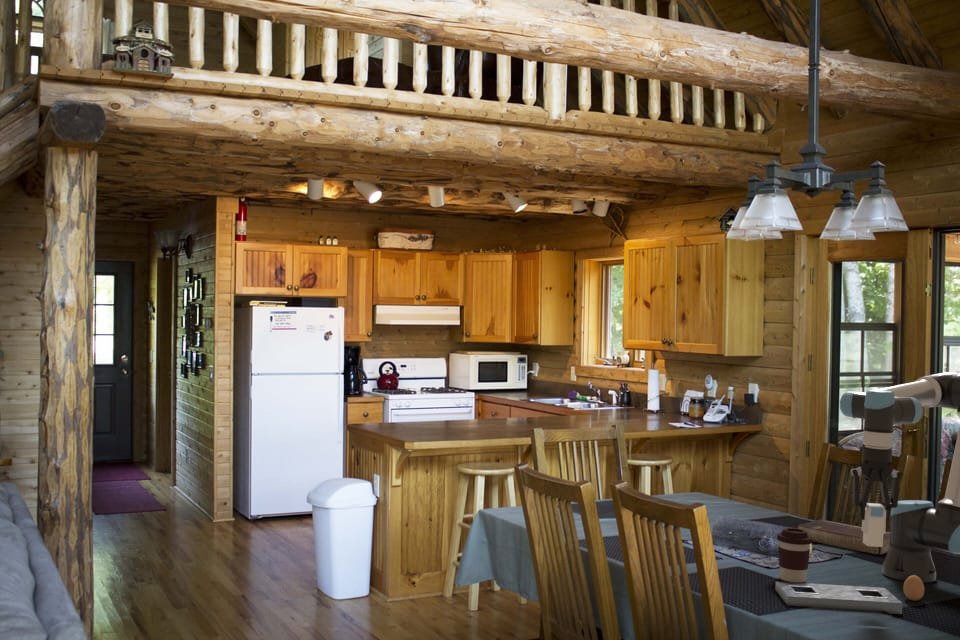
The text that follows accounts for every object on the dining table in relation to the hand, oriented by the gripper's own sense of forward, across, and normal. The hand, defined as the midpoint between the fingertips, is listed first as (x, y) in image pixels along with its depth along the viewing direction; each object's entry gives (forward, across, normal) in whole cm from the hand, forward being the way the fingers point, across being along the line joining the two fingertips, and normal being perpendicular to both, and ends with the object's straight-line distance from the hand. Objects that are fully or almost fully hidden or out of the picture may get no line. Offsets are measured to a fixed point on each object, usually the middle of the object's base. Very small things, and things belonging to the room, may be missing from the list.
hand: (873, 531), depth 267 cm
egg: (+20, -14, -7) cm, 26 cm away
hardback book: (+21, -17, -75) cm, 79 cm away
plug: (+4, 0, 0) cm, 4 cm away
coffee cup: (+20, +16, -20) cm, 33 cm away
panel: (+20, +9, 0) cm, 22 cm away
